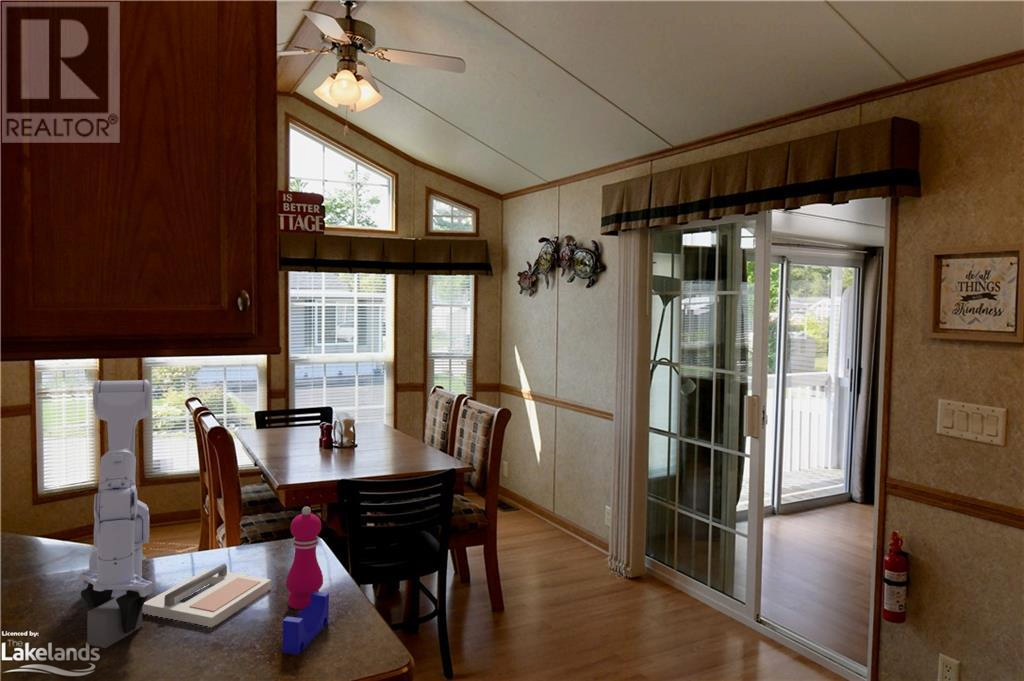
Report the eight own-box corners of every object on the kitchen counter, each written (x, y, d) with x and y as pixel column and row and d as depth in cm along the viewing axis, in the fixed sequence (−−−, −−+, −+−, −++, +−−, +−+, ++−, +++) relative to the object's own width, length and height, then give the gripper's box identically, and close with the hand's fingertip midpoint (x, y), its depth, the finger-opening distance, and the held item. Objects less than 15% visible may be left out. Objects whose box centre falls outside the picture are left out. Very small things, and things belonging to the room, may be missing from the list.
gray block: (87, 644, 118) (87, 611, 118) (124, 623, 126) (125, 592, 125) (105, 648, 117) (105, 615, 116) (142, 627, 125) (142, 596, 124)
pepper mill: (307, 591, 142) (310, 499, 141) (330, 601, 138) (332, 506, 136) (278, 603, 136) (280, 506, 135) (300, 614, 132) (302, 515, 131)
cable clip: (306, 620, 130) (307, 590, 130) (328, 623, 129) (328, 593, 129) (274, 652, 118) (275, 619, 118) (298, 655, 117) (298, 622, 117)
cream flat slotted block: (142, 613, 129) (142, 592, 129) (207, 577, 147) (208, 558, 146) (211, 628, 125) (211, 606, 125) (271, 588, 142) (271, 569, 142)
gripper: (63, 556, 118) (64, 630, 119) (130, 568, 114) (129, 645, 115) (98, 542, 125) (98, 613, 126) (162, 554, 121) (161, 626, 122)
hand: (115, 627), depth 121 cm, fingers open, 6 cm apart
